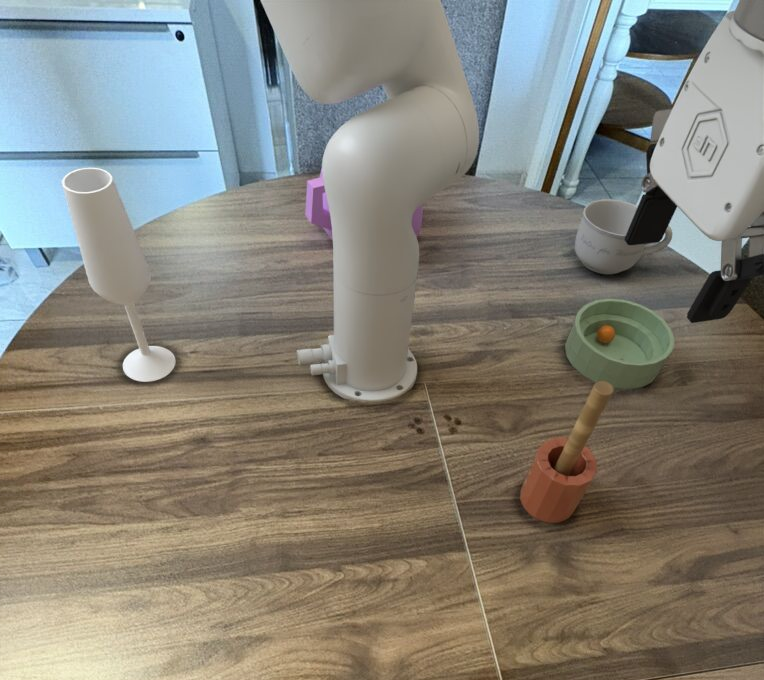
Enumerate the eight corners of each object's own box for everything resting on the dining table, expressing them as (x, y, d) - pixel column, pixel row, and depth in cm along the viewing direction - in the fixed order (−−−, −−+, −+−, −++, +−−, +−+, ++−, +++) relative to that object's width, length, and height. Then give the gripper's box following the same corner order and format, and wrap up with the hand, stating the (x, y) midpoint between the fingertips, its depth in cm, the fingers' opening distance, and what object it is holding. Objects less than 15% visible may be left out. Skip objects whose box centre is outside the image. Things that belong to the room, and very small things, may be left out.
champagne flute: (168, 340, 83) (114, 157, 63) (181, 373, 80) (130, 191, 60) (117, 353, 81) (45, 168, 61) (129, 387, 78) (57, 204, 58)
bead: (599, 347, 86) (605, 334, 84) (591, 336, 88) (597, 322, 86) (614, 345, 87) (620, 332, 85) (606, 334, 88) (612, 320, 86)
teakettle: (302, 249, 96) (297, 168, 86) (334, 193, 105) (334, 114, 95) (407, 272, 94) (415, 193, 84) (431, 213, 104) (441, 136, 93)
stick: (543, 506, 70) (599, 396, 55) (537, 494, 71) (590, 382, 56) (558, 504, 71) (617, 393, 56) (551, 491, 72) (608, 379, 57)
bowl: (588, 399, 82) (602, 371, 77) (549, 333, 88) (559, 304, 84) (675, 385, 84) (692, 357, 80) (630, 322, 91) (644, 293, 87)
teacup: (561, 271, 97) (577, 223, 90) (575, 235, 103) (592, 188, 96) (648, 296, 95) (672, 250, 88) (658, 258, 100) (681, 212, 94)
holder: (531, 531, 69) (551, 490, 63) (510, 485, 73) (527, 442, 66) (582, 521, 71) (607, 479, 64) (559, 476, 74) (581, 433, 67)
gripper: (671, -43, 38) (580, 220, 52) (860, 82, 29) (688, 360, 43) (774, -45, 39) (658, 212, 53) (985, 74, 30) (778, 345, 44)
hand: (671, 278), depth 48 cm, fingers open, 9 cm apart
